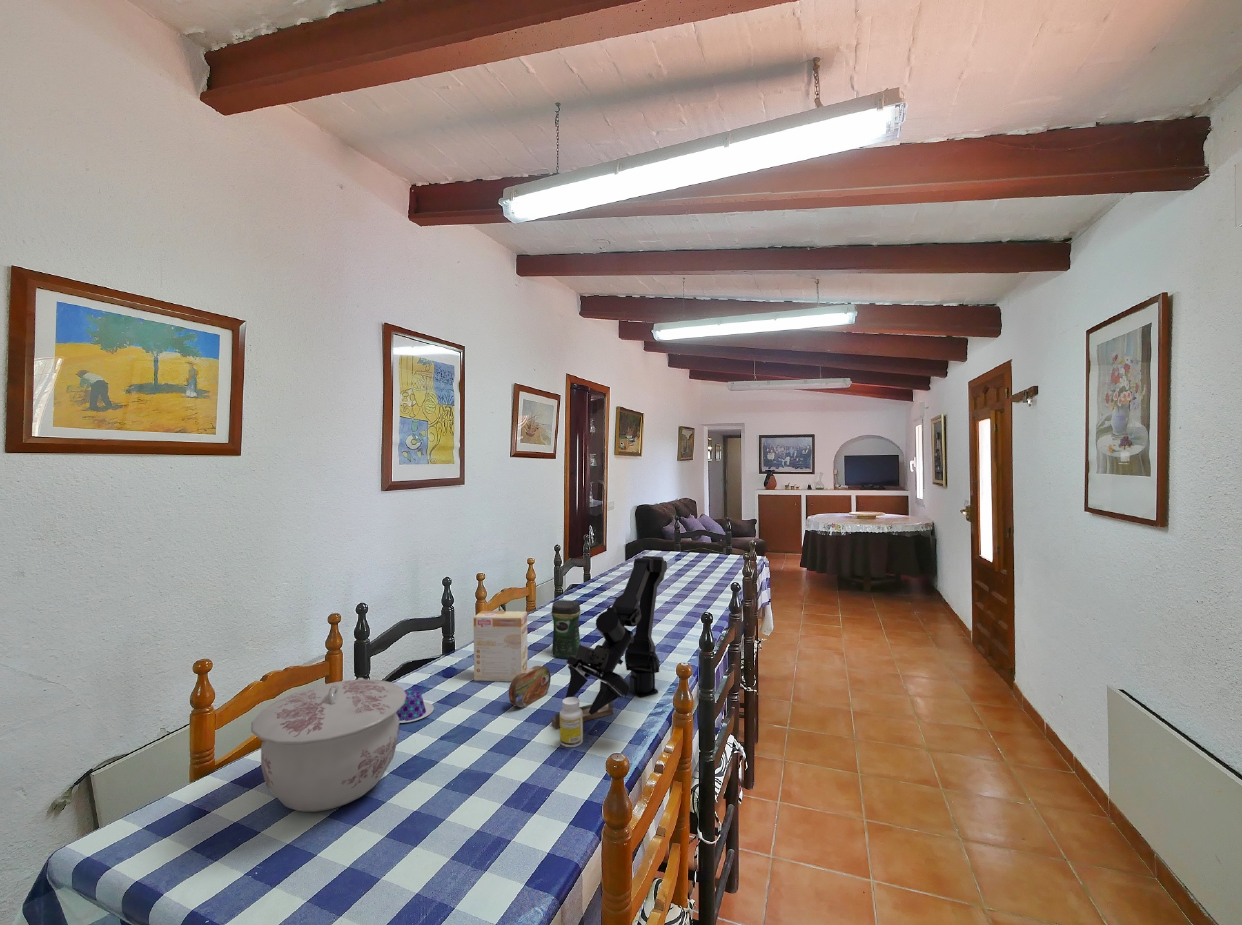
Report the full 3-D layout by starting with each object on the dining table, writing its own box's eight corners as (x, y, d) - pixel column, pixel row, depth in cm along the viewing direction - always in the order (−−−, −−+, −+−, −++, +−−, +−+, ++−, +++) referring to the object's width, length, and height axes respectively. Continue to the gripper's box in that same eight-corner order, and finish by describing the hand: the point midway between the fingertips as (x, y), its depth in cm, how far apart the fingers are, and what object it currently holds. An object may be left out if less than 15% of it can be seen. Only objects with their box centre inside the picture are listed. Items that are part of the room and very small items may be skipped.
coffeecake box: (528, 673, 166) (527, 610, 166) (521, 682, 159) (521, 617, 159) (481, 671, 167) (481, 609, 167) (473, 680, 160) (472, 616, 160)
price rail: (607, 708, 141) (607, 695, 141) (613, 713, 138) (613, 699, 138) (551, 723, 133) (551, 709, 133) (556, 729, 130) (556, 714, 130)
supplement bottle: (567, 734, 128) (567, 693, 128) (587, 739, 126) (586, 697, 126) (555, 745, 123) (555, 702, 123) (575, 750, 121) (575, 707, 121)
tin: (515, 713, 139) (515, 680, 139) (506, 710, 141) (506, 678, 141) (551, 691, 152) (551, 662, 152) (543, 689, 154) (542, 660, 154)
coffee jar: (583, 652, 184) (583, 598, 184) (575, 660, 176) (575, 604, 176) (558, 649, 187) (557, 597, 187) (548, 657, 179) (548, 602, 179)
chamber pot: (298, 858, 88) (297, 734, 88) (223, 803, 103) (223, 696, 103) (437, 774, 112) (436, 676, 112) (360, 739, 126) (360, 652, 126)
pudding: (381, 711, 141) (381, 691, 141) (427, 700, 148) (427, 681, 148) (389, 730, 131) (389, 709, 131) (438, 717, 138) (438, 697, 138)
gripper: (572, 623, 137) (535, 677, 129) (620, 641, 123) (582, 703, 115) (596, 646, 142) (562, 700, 135) (644, 666, 128) (610, 727, 121)
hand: (578, 706), depth 126 cm, fingers open, 9 cm apart
